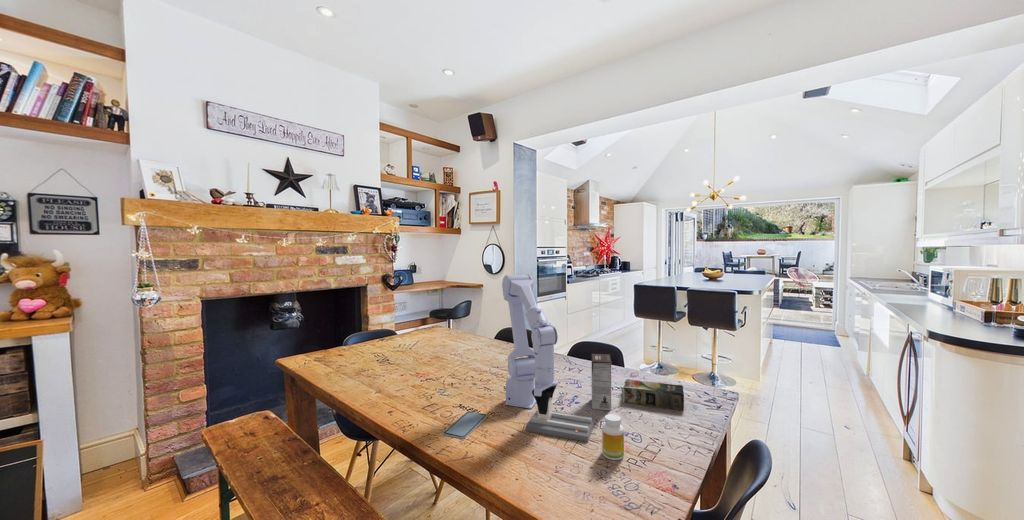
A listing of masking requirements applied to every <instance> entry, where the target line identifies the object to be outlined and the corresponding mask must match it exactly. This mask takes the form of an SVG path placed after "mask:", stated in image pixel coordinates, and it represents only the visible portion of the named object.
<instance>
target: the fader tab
mask: <svg viewBox="0 0 1024 520" xmlns="http://www.w3.org/2000/svg"><path fill="white" fill-rule="evenodd" d="M552 401H553V397H552V398H551V397H550V398H549V402H548V409H547V413H546V415H544V414H539V411H538V418H540V419H546V420H549V419H550V418H551V416H552V411H553V409H552V408H553V407H552V406H553V402H552Z"/></svg>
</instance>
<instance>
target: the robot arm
mask: <svg viewBox="0 0 1024 520" xmlns="http://www.w3.org/2000/svg"><path fill="white" fill-rule="evenodd" d="M501 287H502V295H503V300H505V301H506V302H508V303H507V304H508V309H509V315H510V316H509V317H510V322H511V331H512V339H513V346H514V347H513V348H514V349H513V350H512V351H511V352H510V353H509V354H508V356H507V372H508V374H509V375H508V376H507V379H506V382H505V402H504V405H506V406H512V407H517V408H525V409H530V410H531V409H532V408H533V407H534V406H535V405H536V406H537V409H538V411H539V414H544V415H546V413H547V409H548V402H549V398H550V397H551V398H552V399H553V396H554V393H555V390H556V389H557V386H558V385H559V381H557V380H556V379H555V346H554V345H556V344H557V343H558V338H559V337H558V336H559V335H558V331H557V329H556V327H555V326H554V324H552V323H551V322H549V321H548V318H547V317H546V315H545V311H544V310H543V308H541V307H540V306H538V304H537V302H536V298H535V296H534V293H533V291H534V280H533V277H532V275H530V274H529V273H528V274H519V275H517V274H516V275H509V274H505V275H504V277H503V279H502V283H501ZM524 308H525V310H526V313H525V312H524ZM525 318H526V319H525ZM526 320H527V322H528V323H527V324H528V325H529V328H530V330H531V334H530V337H531V343H532V348H530V346H529V341H528V334H527V328H526Z"/></svg>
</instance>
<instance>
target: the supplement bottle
mask: <svg viewBox="0 0 1024 520" xmlns="http://www.w3.org/2000/svg"><path fill="white" fill-rule="evenodd" d="M624 429H625V428H624V427H623V425H622V417H621V416H620V415H618V414H614V413H608V414H606V415H605V416H604V423H603V424H602V427H601V434H602V435H601V453H602V455H603V457H605V458H607V459H609V460H612V461H619V460H622V459H623V458H625V457H624V456H625V430H624Z"/></svg>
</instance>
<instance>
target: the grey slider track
mask: <svg viewBox="0 0 1024 520" xmlns="http://www.w3.org/2000/svg"><path fill="white" fill-rule="evenodd" d="M595 423H596V417H593V416H588V415H580V414H574V413H567V412H561V411H555V410H552V416H551V418H550V419H549V420H546V419H540V418H538V408H537V409H536V410H535V412H534V414H533V415H532V416H531V417H530V419H529V421H528V422H527V423H526V424H525V431H526V432H532V433H535V434H536V433H537V434H543V435H547V436H552V437H553V436H554V437H559V438H565V439H568V440H569V439H571V440H575V441H580V442H587V443H588V442H589V440H590V439H591V438H590V437H591V435H592V432H593V429H594V426H595Z"/></svg>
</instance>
